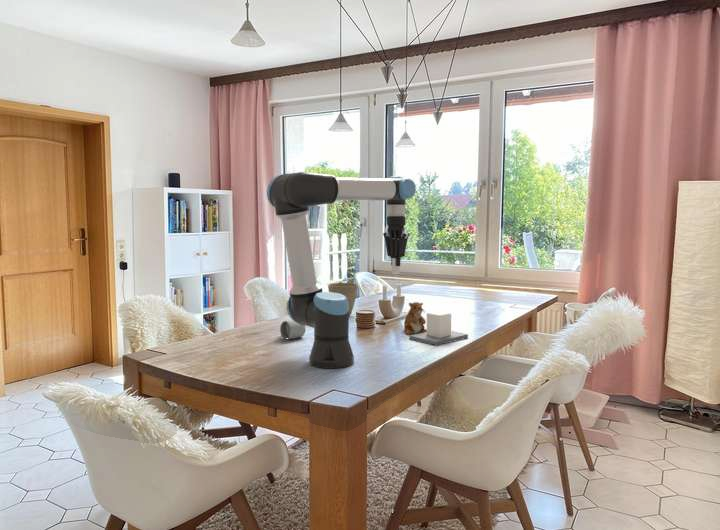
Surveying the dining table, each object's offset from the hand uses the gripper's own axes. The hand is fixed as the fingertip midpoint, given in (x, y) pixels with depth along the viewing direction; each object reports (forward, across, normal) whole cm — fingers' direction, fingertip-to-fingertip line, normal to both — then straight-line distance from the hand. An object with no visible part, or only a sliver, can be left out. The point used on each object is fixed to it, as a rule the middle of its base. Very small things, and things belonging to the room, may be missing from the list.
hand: (395, 274), depth 211 cm
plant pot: (+27, +52, -14) cm, 60 cm away
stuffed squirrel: (+27, +4, -15) cm, 31 cm away
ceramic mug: (+27, +28, +32) cm, 51 cm away
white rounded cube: (+25, -12, -13) cm, 31 cm away
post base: (+26, -12, -13) cm, 32 cm away
